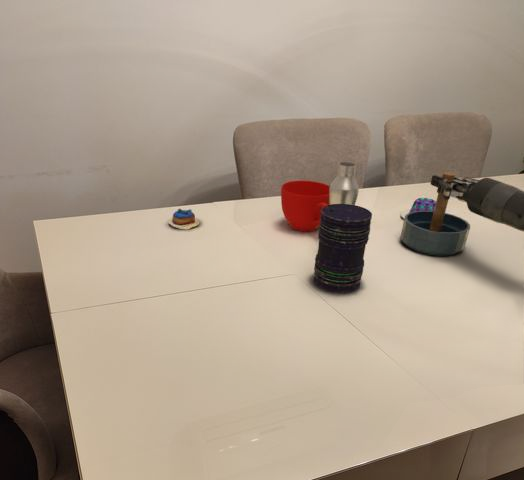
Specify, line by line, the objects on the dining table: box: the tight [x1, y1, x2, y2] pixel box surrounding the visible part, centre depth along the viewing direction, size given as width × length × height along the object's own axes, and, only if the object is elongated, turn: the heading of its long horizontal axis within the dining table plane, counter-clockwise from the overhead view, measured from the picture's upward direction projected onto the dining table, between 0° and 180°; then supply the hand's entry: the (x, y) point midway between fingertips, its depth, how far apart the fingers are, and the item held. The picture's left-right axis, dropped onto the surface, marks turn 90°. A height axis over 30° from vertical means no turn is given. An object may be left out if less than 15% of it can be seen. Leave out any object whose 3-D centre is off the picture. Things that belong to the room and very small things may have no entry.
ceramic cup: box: [280, 180, 330, 232], centre depth 125 cm, size 13×17×10 cm
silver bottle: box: [329, 161, 360, 205], centre depth 111 cm, size 6×7×20 cm
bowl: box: [399, 211, 471, 257], centre depth 122 cm, size 15×15×6 cm
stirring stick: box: [429, 171, 456, 232], centre depth 118 cm, size 4×4×16 cm
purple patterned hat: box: [400, 197, 436, 219], centre depth 137 cm, size 12×12×5 cm
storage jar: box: [313, 204, 373, 294], centre depth 100 cm, size 10×10×15 cm
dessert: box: [168, 208, 200, 230], centre depth 127 cm, size 8×7×6 cm
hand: (437, 179), depth 117 cm, fingers closed on stirring stick, 2 cm apart
